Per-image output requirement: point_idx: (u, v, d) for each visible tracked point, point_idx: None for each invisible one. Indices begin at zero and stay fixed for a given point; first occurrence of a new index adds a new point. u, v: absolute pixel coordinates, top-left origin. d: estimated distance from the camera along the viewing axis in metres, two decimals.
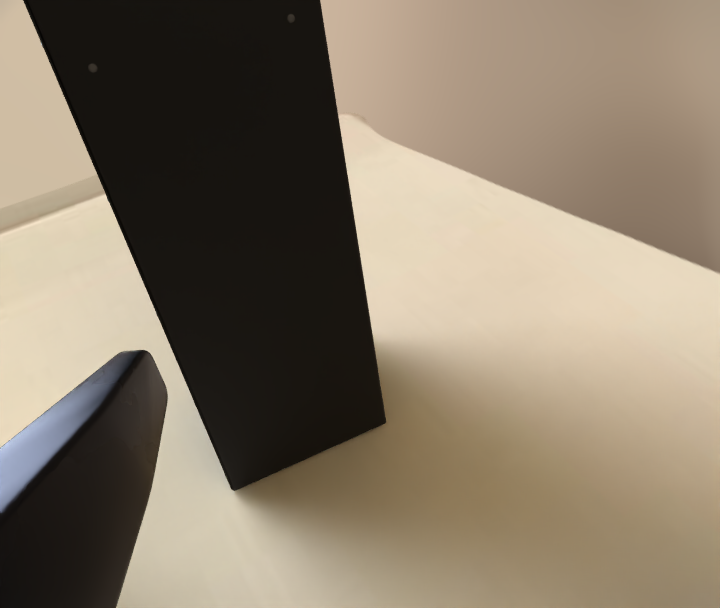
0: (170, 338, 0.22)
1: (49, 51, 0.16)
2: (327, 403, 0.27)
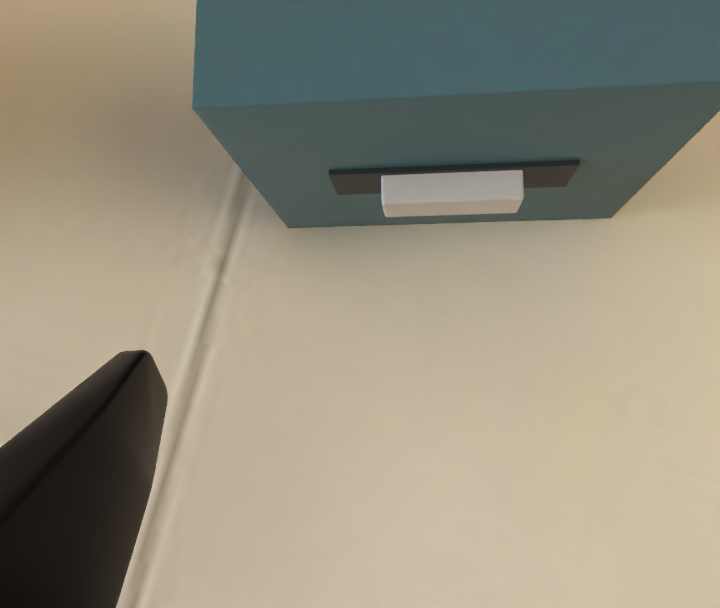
0: None
1: None
2: None
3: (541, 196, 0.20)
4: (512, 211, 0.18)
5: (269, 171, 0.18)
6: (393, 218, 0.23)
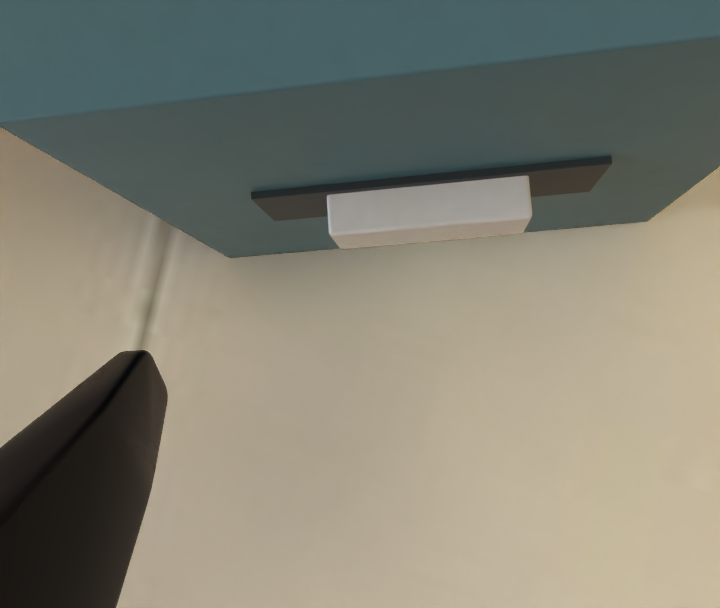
0: None
1: None
2: None
3: (555, 203, 0.15)
4: (516, 232, 0.13)
5: (167, 198, 0.13)
6: None
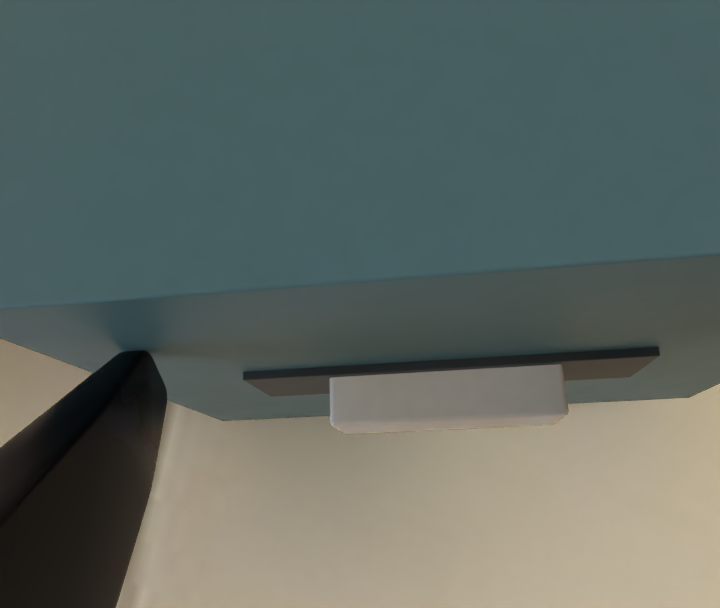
0: None
1: None
2: None
3: (588, 383, 0.13)
4: (548, 424, 0.11)
5: None
6: None
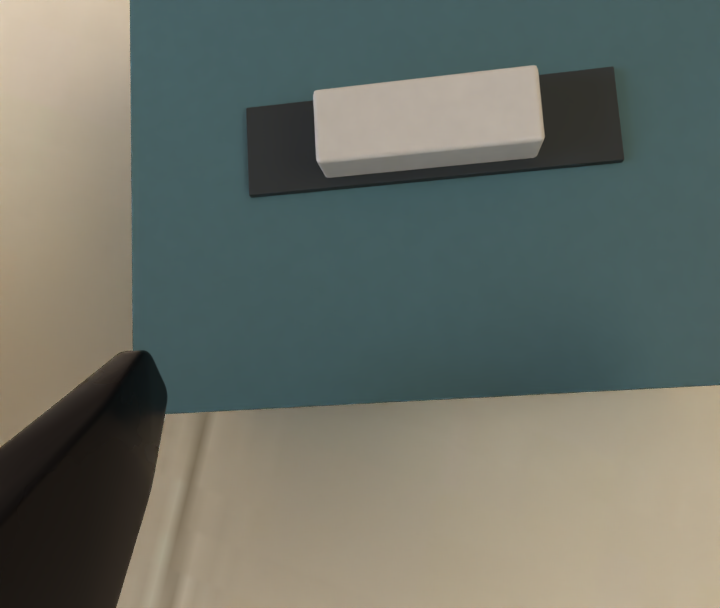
0: None
1: None
2: None
3: (601, 231, 0.11)
4: (534, 126, 0.11)
5: (166, 114, 0.13)
6: (340, 359, 0.12)
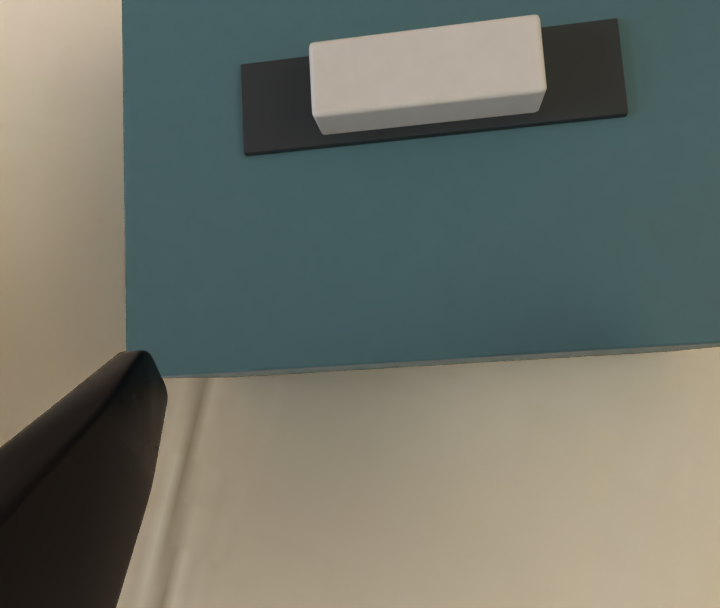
0: None
1: None
2: None
3: (605, 187, 0.11)
4: (535, 77, 0.10)
5: (159, 72, 0.12)
6: (337, 320, 0.11)
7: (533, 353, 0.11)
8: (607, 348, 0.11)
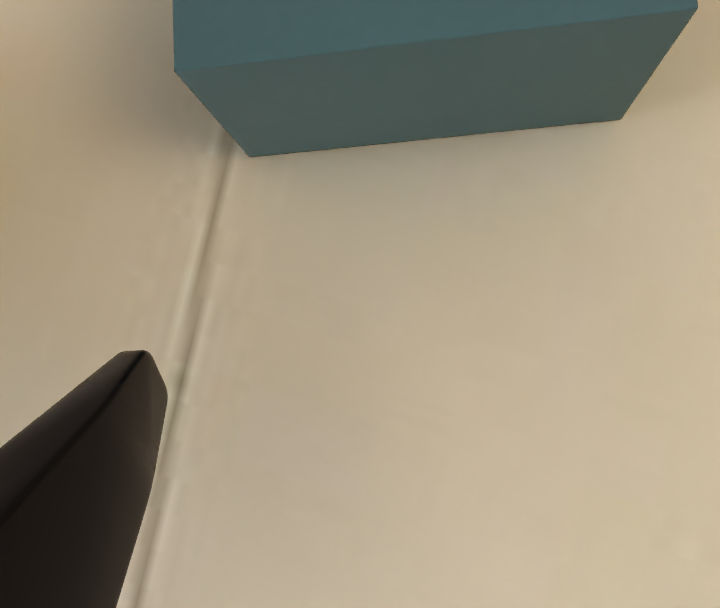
0: None
1: None
2: None
3: None
4: None
5: None
6: (339, 18, 0.15)
7: (490, 34, 0.14)
8: (546, 25, 0.14)
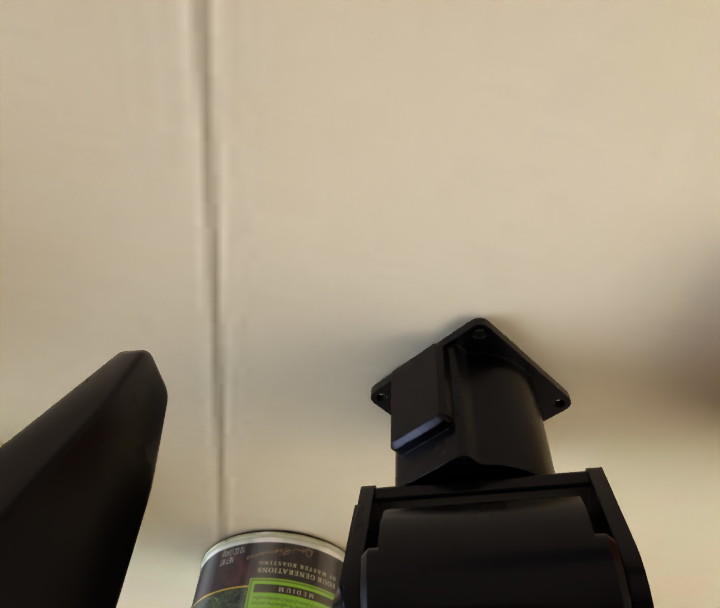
0: None
1: None
2: None
3: None
4: None
5: None
6: None
7: None
8: None
